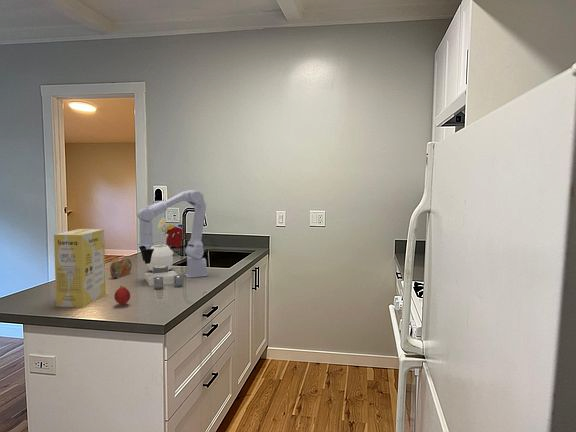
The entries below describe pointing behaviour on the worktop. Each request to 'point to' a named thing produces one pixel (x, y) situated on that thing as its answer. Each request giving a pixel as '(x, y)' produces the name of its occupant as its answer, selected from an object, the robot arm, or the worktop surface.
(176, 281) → the cylinder
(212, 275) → the worktop surface
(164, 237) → the flower in vase
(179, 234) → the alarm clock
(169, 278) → the kitchen scale
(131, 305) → the worktop surface
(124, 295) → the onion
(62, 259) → the pasta box
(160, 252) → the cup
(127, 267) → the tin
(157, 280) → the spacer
